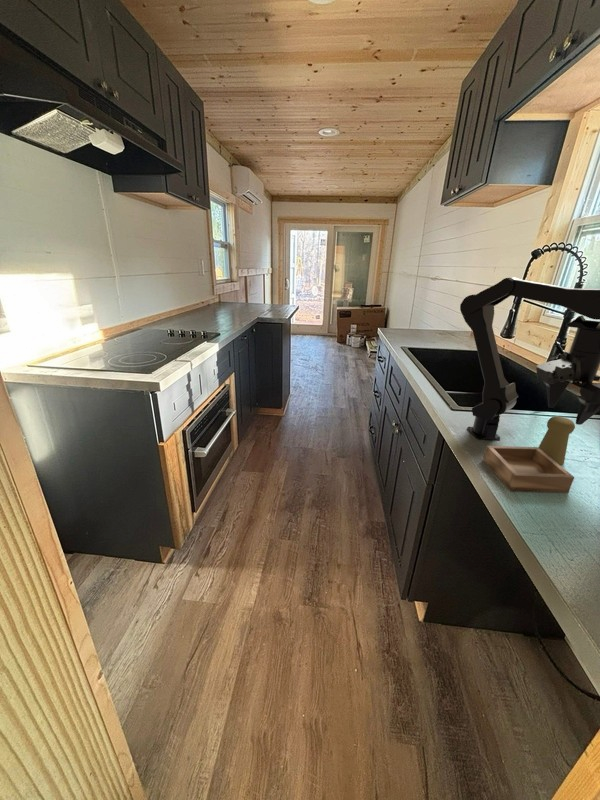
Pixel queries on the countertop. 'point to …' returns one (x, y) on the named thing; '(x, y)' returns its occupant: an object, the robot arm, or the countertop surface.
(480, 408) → the robot arm
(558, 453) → the cork
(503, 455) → the box
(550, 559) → the countertop surface
